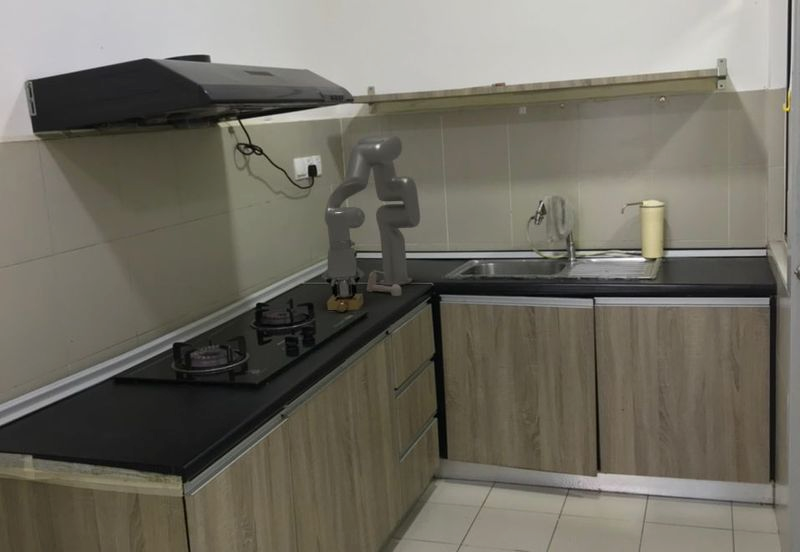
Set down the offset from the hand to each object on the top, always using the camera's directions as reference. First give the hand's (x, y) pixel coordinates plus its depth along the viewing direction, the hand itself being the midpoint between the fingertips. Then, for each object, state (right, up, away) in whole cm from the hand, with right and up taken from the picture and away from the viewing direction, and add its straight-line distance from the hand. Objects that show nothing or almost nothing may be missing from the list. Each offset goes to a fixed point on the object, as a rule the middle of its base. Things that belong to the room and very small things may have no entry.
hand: (344, 295), depth 302 cm
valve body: (0, -4, +1) cm, 4 cm away
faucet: (+13, 0, +21) cm, 25 cm away
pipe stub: (0, -4, +1) cm, 4 cm away
